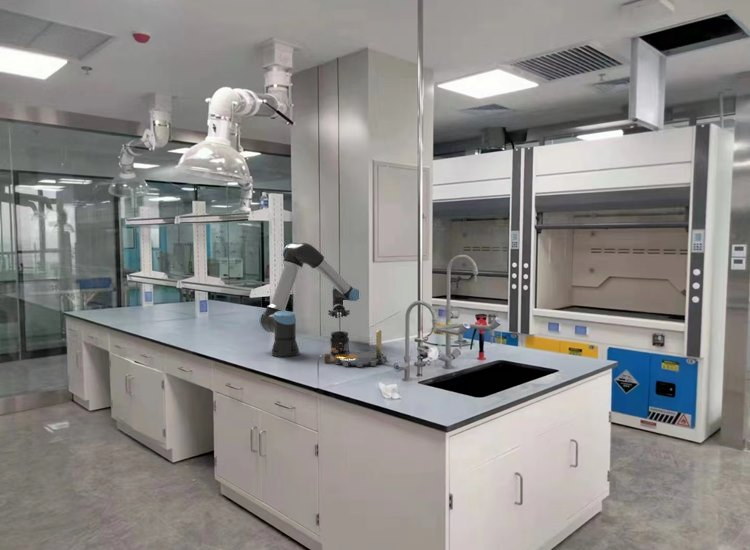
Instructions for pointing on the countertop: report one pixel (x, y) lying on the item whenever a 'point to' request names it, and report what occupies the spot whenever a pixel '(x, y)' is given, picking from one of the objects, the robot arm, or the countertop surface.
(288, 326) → the robot arm
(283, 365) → the countertop surface
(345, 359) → the turntable
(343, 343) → the supplement container
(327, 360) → the index mark
